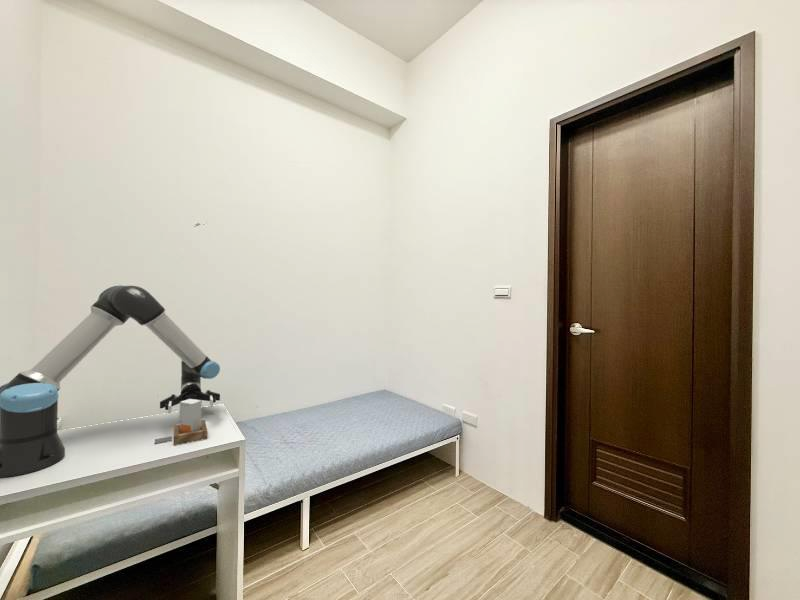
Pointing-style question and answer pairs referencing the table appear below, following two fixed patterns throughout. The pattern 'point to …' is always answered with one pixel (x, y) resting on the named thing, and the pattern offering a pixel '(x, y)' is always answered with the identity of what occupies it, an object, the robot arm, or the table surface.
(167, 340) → the robot arm
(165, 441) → the flat gray slab
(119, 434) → the table surface
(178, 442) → the socket block
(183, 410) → the skincare box
